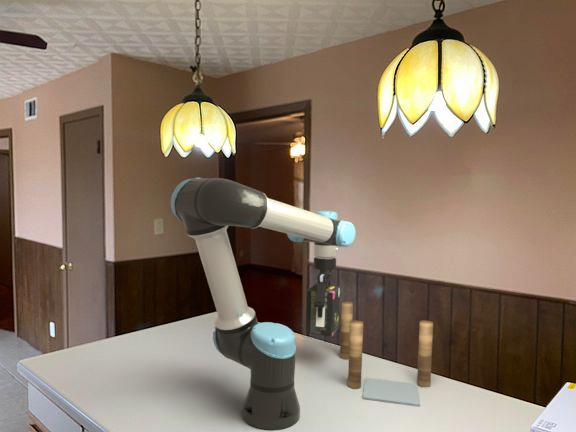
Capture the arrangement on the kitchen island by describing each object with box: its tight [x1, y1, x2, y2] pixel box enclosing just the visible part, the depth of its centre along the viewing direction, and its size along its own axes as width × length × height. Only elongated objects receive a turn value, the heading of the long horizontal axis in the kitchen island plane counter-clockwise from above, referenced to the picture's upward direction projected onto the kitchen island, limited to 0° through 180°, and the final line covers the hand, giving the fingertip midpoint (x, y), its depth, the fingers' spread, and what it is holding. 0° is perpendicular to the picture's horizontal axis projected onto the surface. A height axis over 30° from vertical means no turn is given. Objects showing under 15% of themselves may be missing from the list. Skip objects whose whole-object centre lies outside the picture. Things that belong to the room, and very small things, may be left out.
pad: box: [362, 377, 421, 407], centre depth 133 cm, size 14×16×1 cm
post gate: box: [339, 301, 354, 361], centre depth 159 cm, size 4×4×20 cm
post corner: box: [347, 320, 364, 390], centre depth 136 cm, size 4×4×20 cm
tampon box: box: [305, 284, 341, 337], centre depth 149 cm, size 11×9×15 cm
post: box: [416, 319, 434, 388], centre depth 138 cm, size 4×4×20 cm
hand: (322, 321), depth 149 cm, fingers closed on tampon box, 11 cm apart
